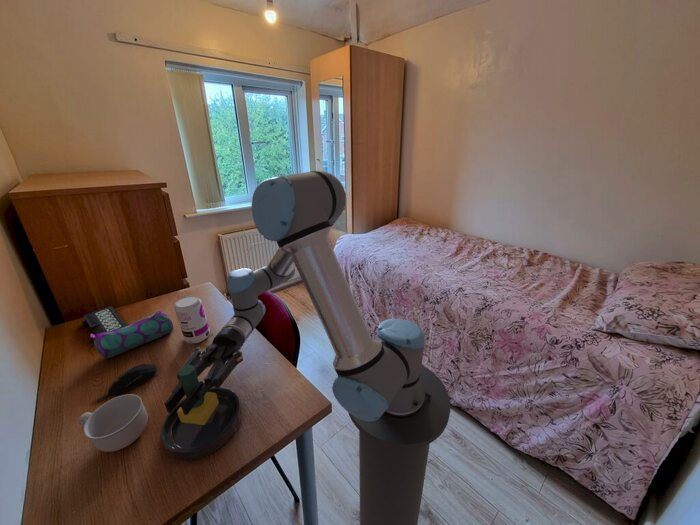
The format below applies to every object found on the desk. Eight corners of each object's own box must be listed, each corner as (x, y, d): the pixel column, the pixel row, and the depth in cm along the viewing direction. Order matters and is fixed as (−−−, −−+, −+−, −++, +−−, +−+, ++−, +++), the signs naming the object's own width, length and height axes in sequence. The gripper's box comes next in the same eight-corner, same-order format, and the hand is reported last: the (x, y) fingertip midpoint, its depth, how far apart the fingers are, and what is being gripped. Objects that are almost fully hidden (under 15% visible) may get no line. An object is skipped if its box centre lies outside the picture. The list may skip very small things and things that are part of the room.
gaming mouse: (93, 395, 79) (88, 385, 77) (152, 364, 90) (148, 354, 88) (100, 408, 75) (94, 397, 74) (161, 373, 86) (157, 363, 84)
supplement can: (211, 327, 106) (201, 292, 100) (209, 341, 99) (199, 304, 93) (186, 332, 104) (175, 297, 97) (183, 347, 97) (171, 310, 90)
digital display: (78, 315, 109) (110, 305, 116) (81, 322, 110) (113, 311, 117) (91, 338, 97) (126, 324, 104) (95, 346, 98) (129, 332, 105)
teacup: (162, 420, 72) (152, 397, 69) (123, 464, 62) (110, 441, 59) (117, 410, 75) (105, 388, 71) (73, 452, 65) (57, 429, 62)
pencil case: (167, 324, 108) (160, 303, 104) (176, 334, 103) (169, 312, 99) (99, 354, 94) (87, 330, 90) (105, 367, 89) (92, 343, 85)
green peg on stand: (219, 402, 71) (206, 361, 65) (204, 425, 65) (189, 382, 60) (196, 400, 72) (182, 359, 66) (180, 422, 66) (163, 379, 60)
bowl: (253, 399, 77) (251, 390, 75) (217, 467, 61) (214, 457, 60) (195, 393, 79) (192, 384, 78) (147, 456, 64) (141, 446, 62)
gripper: (261, 349, 82) (215, 425, 61) (209, 344, 84) (146, 416, 63) (257, 328, 79) (207, 401, 57) (203, 324, 81) (135, 392, 60)
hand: (175, 409), depth 60 cm, fingers closed on green peg on stand, 3 cm apart
